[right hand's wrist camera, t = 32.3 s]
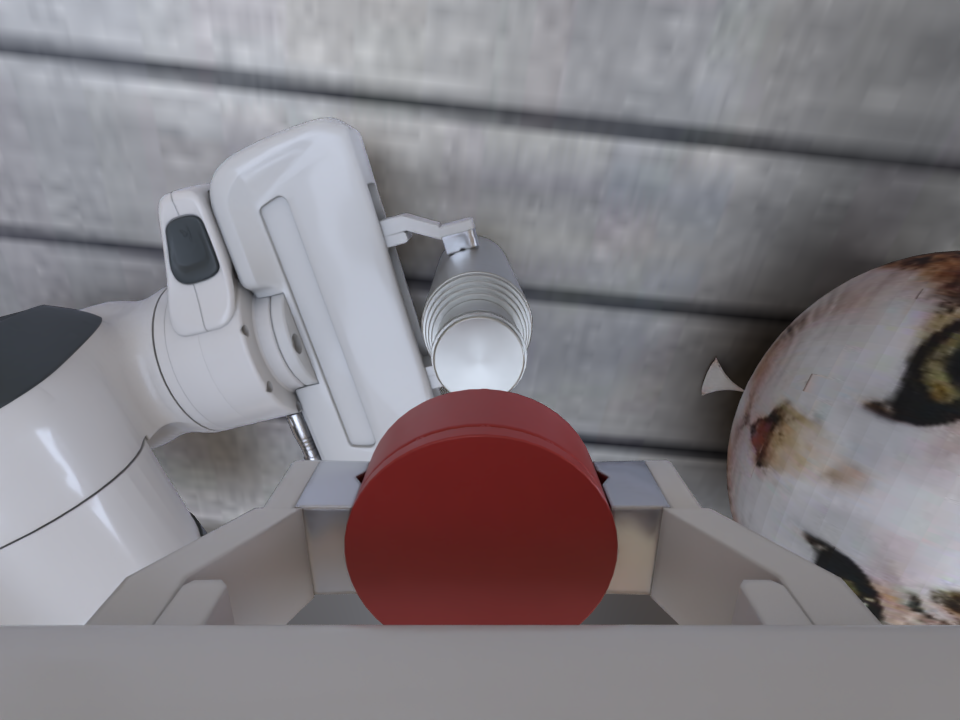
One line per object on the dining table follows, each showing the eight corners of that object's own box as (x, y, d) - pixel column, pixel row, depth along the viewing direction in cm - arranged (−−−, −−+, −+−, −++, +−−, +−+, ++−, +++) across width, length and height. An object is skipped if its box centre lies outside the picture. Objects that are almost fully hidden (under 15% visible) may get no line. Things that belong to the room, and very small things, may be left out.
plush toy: (704, 191, 27) (1407, 298, 14) (811, 229, 39) (1244, 307, 26) (590, 542, 34) (987, 846, 21) (711, 484, 46) (1013, 652, 33)
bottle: (519, 250, 34) (568, 321, 17) (494, 316, 35) (517, 439, 19) (451, 224, 33) (436, 273, 17) (428, 293, 34) (393, 399, 18)
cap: (362, 382, 9) (335, 431, 8) (607, 390, 9) (635, 439, 8) (371, 579, 11) (350, 656, 9) (583, 585, 11) (602, 663, 9)
